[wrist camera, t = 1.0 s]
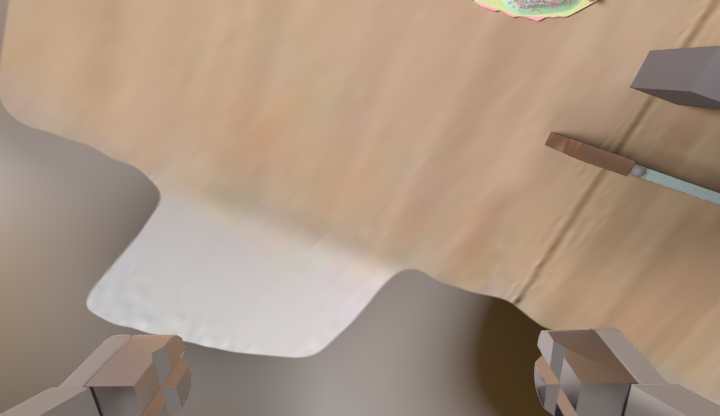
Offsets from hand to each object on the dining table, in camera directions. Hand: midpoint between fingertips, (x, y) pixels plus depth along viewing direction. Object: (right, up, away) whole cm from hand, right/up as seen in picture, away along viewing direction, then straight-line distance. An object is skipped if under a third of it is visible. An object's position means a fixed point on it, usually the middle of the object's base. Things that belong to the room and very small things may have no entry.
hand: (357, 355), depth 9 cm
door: (+35, +7, +37) cm, 52 cm away
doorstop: (+34, +18, +34) cm, 51 cm away
